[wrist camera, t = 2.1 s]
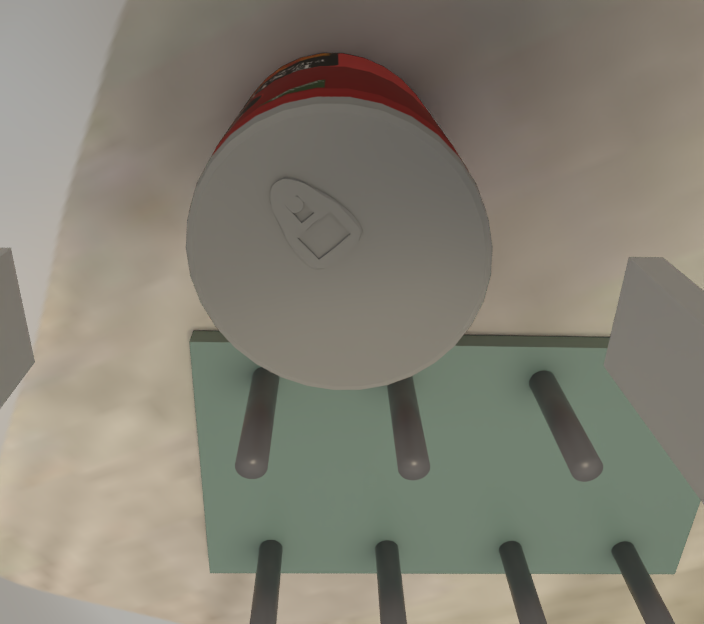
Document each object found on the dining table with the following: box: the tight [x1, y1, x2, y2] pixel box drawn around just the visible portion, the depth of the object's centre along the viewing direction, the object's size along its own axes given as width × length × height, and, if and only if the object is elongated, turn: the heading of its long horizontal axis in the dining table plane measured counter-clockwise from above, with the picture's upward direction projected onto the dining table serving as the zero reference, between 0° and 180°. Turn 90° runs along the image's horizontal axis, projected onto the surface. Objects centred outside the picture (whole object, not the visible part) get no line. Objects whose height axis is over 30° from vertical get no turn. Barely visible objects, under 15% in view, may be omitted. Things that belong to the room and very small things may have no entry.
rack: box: [189, 331, 701, 624], centre depth 30 cm, size 25×14×7 cm, turn 88°
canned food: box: [186, 53, 492, 390], centre depth 22 cm, size 8×8×11 cm
